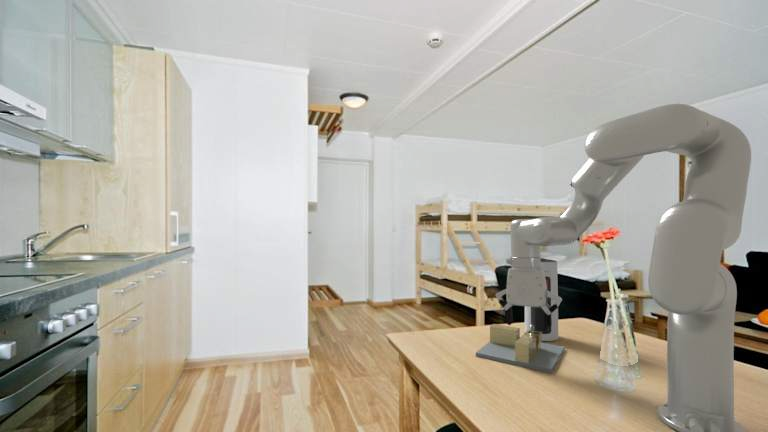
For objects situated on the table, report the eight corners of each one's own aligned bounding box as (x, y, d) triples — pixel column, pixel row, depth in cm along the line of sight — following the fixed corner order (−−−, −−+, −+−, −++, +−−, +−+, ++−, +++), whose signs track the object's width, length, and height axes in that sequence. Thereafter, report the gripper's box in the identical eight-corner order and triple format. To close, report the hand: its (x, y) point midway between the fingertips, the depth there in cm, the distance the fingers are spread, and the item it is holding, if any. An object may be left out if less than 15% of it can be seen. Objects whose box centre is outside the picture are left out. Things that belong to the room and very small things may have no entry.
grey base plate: (551, 373, 92) (551, 369, 92) (475, 356, 104) (475, 352, 104) (564, 350, 109) (564, 346, 109) (497, 337, 120) (497, 334, 120)
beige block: (529, 364, 95) (529, 345, 95) (514, 360, 98) (514, 342, 98) (542, 349, 107) (542, 331, 107) (527, 346, 109) (527, 329, 109)
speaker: (520, 337, 120) (519, 259, 121) (529, 330, 129) (528, 256, 129) (554, 344, 114) (554, 261, 114) (561, 336, 122) (561, 258, 123)
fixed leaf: (537, 352, 104) (537, 327, 104) (489, 342, 112) (489, 320, 112) (540, 348, 107) (540, 324, 107) (493, 339, 115) (493, 317, 115)
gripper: (490, 263, 102) (492, 325, 101) (557, 266, 92) (560, 334, 91) (498, 261, 108) (500, 319, 107) (562, 263, 98) (565, 327, 98)
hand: (528, 326), depth 99 cm, fingers open, 9 cm apart
